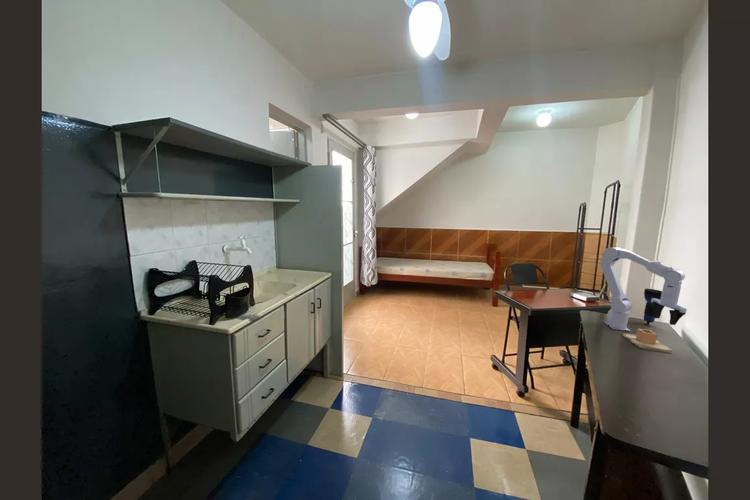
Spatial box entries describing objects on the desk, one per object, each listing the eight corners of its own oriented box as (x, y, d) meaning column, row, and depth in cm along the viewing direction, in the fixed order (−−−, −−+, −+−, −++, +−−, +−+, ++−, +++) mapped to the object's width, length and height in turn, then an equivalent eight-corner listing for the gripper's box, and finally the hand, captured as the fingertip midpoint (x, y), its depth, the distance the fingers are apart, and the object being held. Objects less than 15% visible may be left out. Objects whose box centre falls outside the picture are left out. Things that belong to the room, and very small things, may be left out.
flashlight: (651, 322, 160) (658, 289, 157) (661, 328, 152) (668, 293, 149) (634, 320, 162) (641, 287, 159) (643, 326, 154) (650, 291, 151)
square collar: (635, 338, 136) (637, 328, 135) (648, 339, 135) (650, 330, 134) (642, 342, 131) (644, 332, 131) (655, 344, 130) (657, 334, 129)
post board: (622, 335, 141) (624, 324, 141) (651, 339, 138) (653, 328, 137) (639, 348, 128) (642, 336, 127) (671, 353, 125) (674, 341, 124)
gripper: (647, 289, 140) (642, 315, 142) (677, 299, 126) (671, 327, 128) (661, 290, 140) (656, 315, 142) (693, 299, 125) (686, 328, 128)
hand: (664, 321), depth 135 cm, fingers open, 7 cm apart
